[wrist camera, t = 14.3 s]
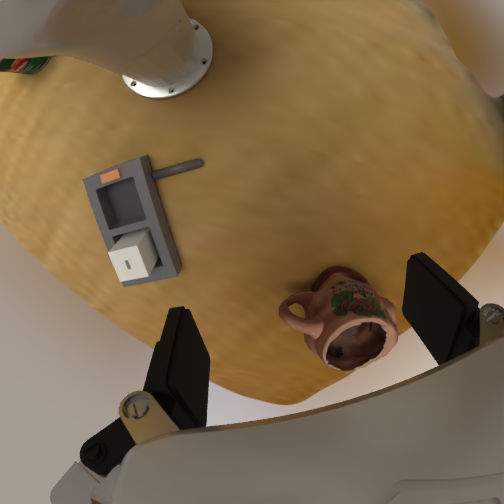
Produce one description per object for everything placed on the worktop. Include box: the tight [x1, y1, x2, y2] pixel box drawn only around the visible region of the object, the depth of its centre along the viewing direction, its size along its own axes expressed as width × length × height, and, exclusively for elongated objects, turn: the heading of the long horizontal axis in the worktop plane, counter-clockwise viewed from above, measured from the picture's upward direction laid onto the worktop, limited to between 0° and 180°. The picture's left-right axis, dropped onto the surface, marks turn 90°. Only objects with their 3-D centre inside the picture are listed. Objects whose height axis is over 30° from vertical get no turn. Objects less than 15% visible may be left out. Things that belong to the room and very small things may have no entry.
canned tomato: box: [0, 56, 51, 75], centre depth 19 cm, size 8×8×11 cm
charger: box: [108, 227, 159, 282], centre depth 36 cm, size 4×4×7 cm
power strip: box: [83, 155, 203, 287], centre depth 36 cm, size 17×16×4 cm
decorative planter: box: [279, 267, 398, 371], centre depth 38 cm, size 20×12×14 cm, turn 78°
